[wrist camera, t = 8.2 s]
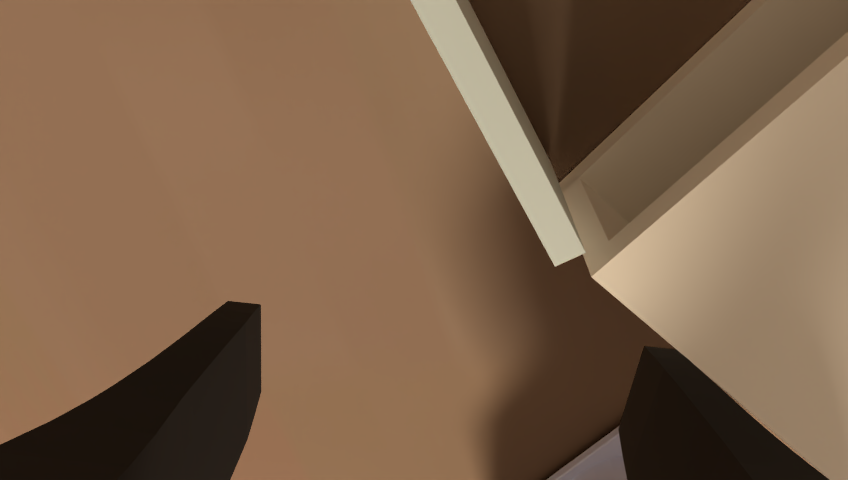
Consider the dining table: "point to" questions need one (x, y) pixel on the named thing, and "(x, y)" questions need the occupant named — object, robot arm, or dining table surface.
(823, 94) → the carton
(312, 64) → the dining table surface
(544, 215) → the flap
